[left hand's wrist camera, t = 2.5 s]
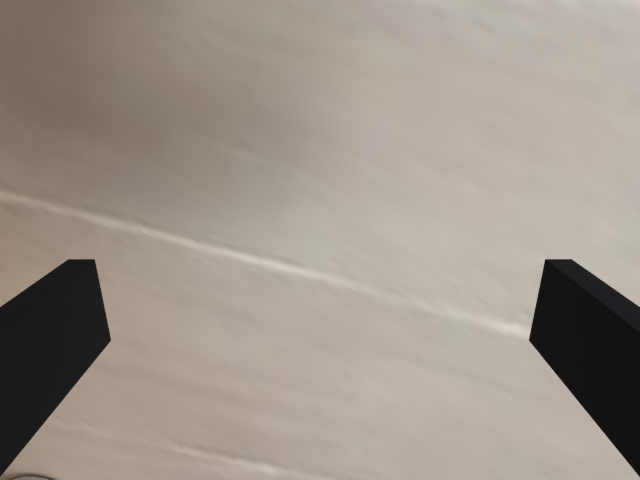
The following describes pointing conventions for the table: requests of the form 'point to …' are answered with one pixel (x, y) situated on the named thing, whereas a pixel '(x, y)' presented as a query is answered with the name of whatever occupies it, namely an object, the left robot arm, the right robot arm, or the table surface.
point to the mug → (30, 478)
